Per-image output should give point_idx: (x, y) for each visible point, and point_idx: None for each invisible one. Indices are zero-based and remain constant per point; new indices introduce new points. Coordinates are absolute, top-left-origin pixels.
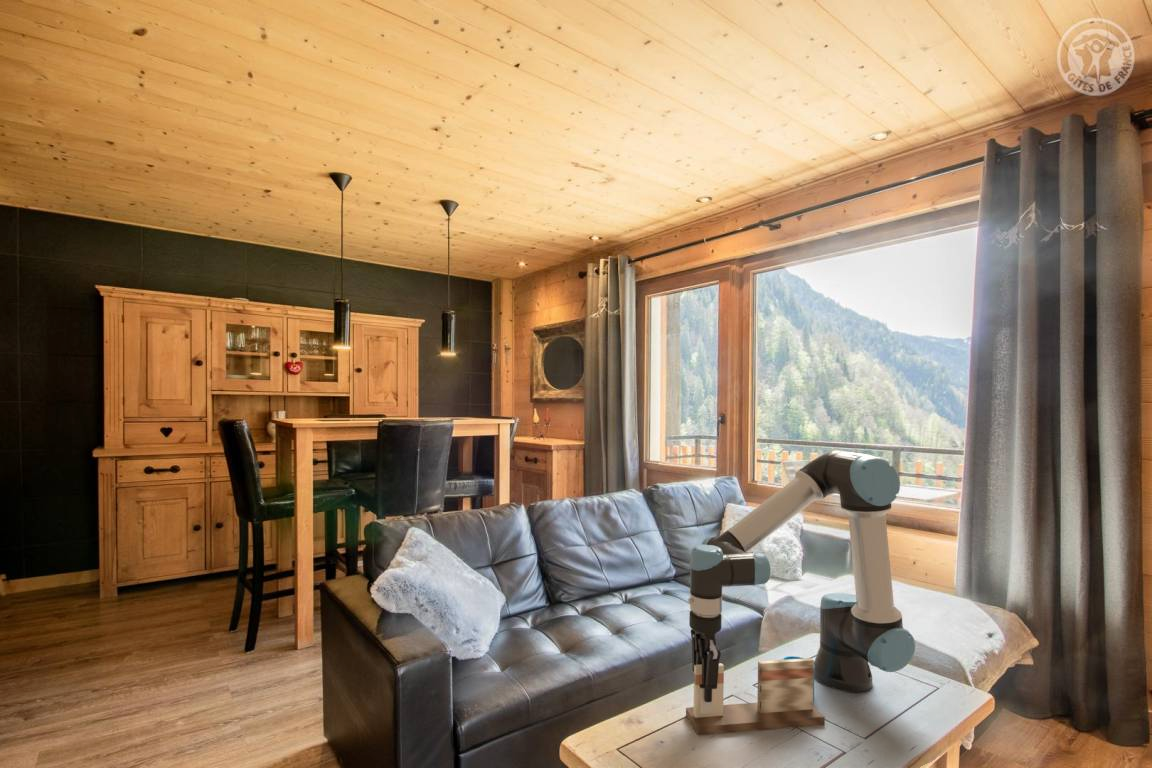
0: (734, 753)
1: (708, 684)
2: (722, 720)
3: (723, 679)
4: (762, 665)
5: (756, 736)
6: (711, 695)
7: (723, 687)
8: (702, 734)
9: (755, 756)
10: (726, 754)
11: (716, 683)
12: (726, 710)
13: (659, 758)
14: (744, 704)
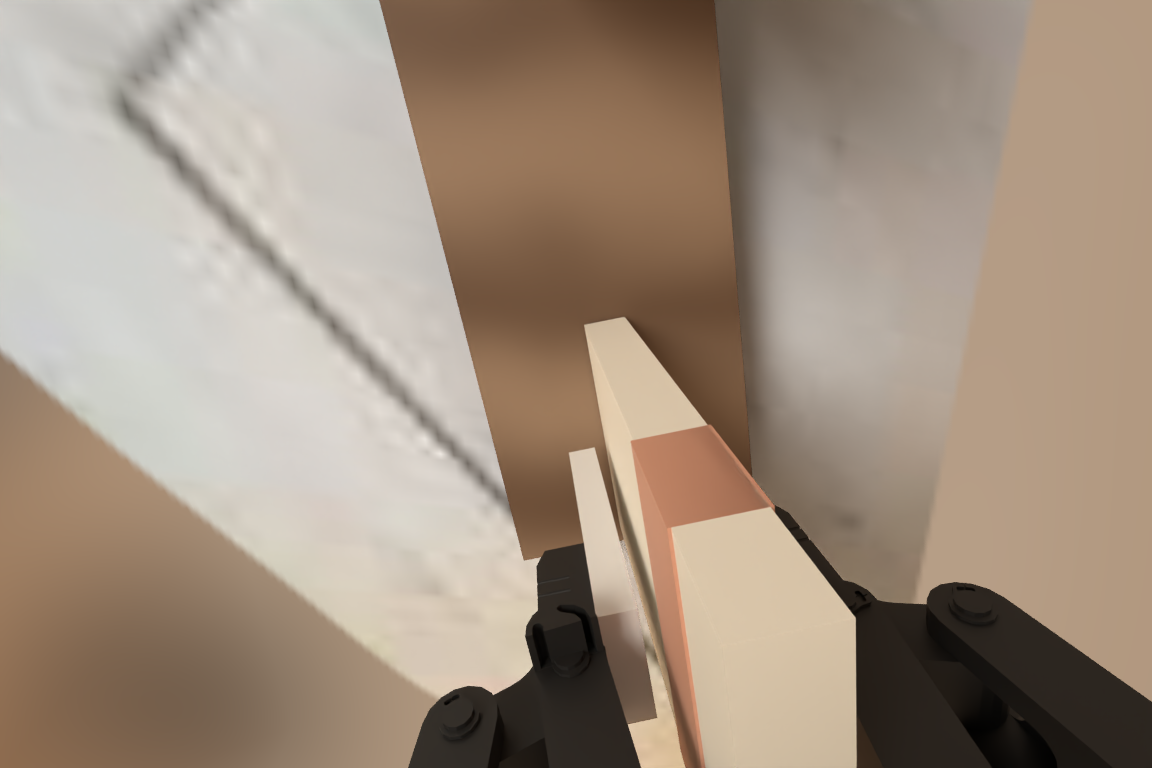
0: (927, 296)
1: (1044, 744)
2: (686, 334)
3: (727, 452)
4: None
5: (765, 70)
6: (812, 545)
7: (689, 401)
8: None
9: (981, 158)
10: (928, 348)
11: (1066, 656)
12: (538, 268)
13: None
14: (414, 56)
